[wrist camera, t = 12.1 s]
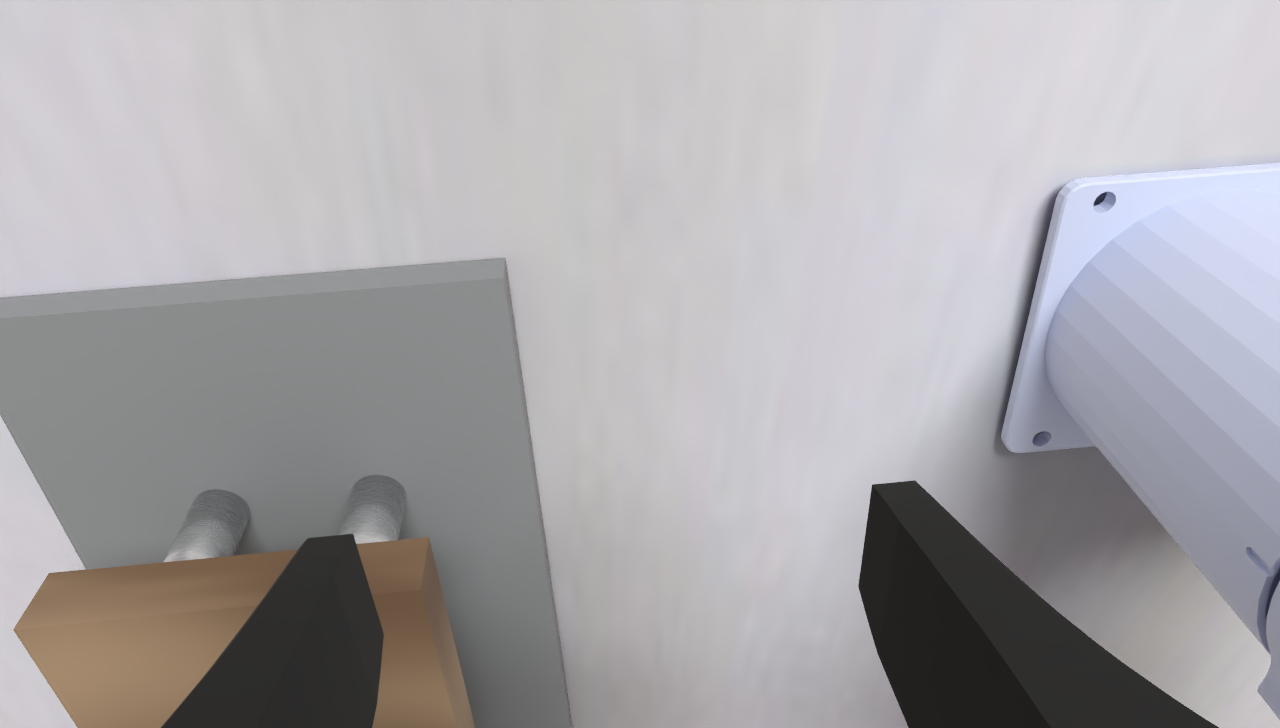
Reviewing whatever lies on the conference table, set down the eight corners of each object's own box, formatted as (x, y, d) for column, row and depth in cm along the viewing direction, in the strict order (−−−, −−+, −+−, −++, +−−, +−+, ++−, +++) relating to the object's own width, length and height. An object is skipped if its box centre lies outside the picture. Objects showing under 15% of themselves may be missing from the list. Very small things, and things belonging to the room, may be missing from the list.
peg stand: (505, 257, 21) (495, 363, 17) (581, 790, 33) (585, 920, 29) (-27, 299, 20) (-160, 419, 16) (252, 826, 32) (213, 964, 28)
